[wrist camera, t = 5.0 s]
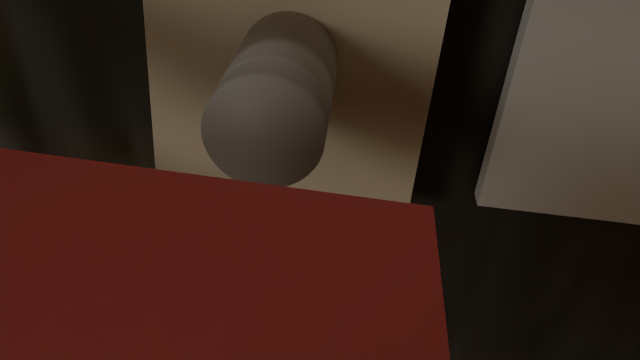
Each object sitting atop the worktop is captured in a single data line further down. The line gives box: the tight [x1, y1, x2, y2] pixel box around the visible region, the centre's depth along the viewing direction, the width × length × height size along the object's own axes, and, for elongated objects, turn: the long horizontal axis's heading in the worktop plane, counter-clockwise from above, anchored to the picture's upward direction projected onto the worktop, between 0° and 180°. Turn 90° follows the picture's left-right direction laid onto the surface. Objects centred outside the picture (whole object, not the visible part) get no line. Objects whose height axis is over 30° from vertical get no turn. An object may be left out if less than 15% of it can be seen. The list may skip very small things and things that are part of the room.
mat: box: [475, 0, 640, 225], centre depth 19 cm, size 10×8×1 cm
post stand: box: [143, 0, 451, 203], centre depth 17 cm, size 10×9×6 cm
